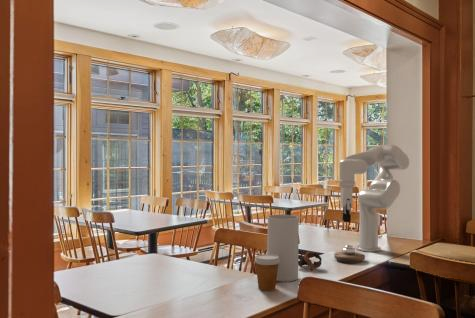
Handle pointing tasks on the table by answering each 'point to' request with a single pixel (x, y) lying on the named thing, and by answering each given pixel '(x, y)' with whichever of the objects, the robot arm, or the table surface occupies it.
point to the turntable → (349, 257)
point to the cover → (348, 250)
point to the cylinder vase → (284, 245)
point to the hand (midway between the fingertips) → (346, 220)
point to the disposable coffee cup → (267, 271)
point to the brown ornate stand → (306, 261)
